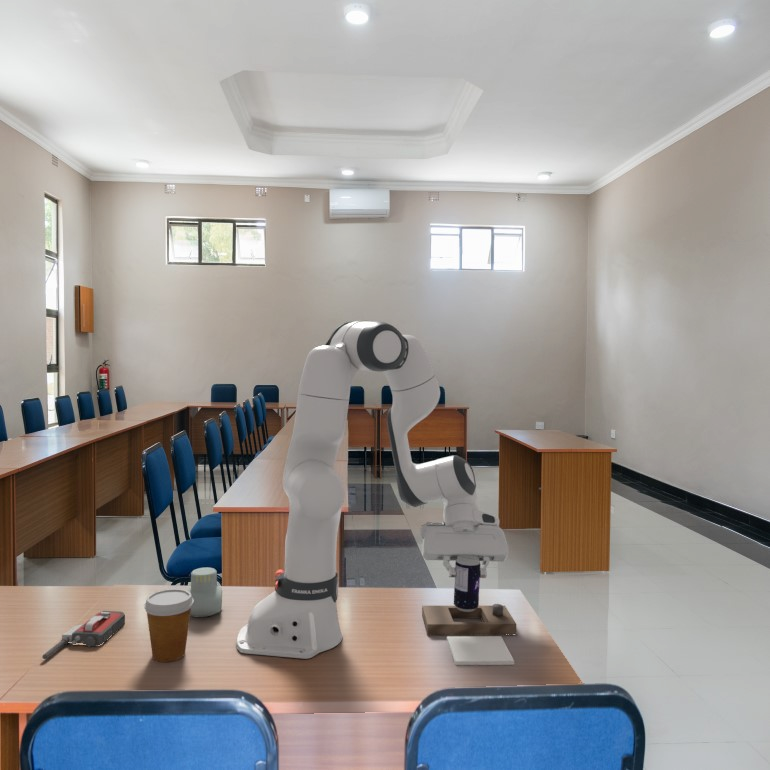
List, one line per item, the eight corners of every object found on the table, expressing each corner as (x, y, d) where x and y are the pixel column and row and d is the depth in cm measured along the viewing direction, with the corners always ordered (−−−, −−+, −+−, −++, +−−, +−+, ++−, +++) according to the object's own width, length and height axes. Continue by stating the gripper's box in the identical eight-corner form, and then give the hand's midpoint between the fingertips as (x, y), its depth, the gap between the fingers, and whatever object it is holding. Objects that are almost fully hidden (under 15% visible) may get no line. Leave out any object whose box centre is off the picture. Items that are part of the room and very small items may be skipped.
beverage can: (477, 614, 139) (480, 561, 138) (452, 611, 140) (454, 559, 139) (478, 605, 144) (481, 554, 144) (454, 602, 145) (456, 552, 145)
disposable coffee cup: (189, 664, 121) (190, 604, 121) (138, 667, 120) (139, 607, 119) (196, 642, 131) (196, 587, 130) (149, 645, 129) (149, 589, 129)
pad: (455, 665, 123) (455, 661, 123) (446, 640, 134) (446, 636, 134) (514, 664, 124) (514, 660, 124) (500, 639, 135) (501, 636, 135)
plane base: (427, 635, 136) (427, 615, 136) (422, 615, 147) (422, 597, 147) (516, 635, 138) (516, 615, 137) (504, 615, 148) (505, 597, 148)
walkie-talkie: (92, 621, 141) (38, 664, 121) (92, 602, 141) (38, 642, 121) (129, 622, 141) (81, 666, 121) (129, 604, 140) (81, 644, 121)
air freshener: (220, 620, 142) (221, 578, 142) (183, 623, 140) (183, 580, 140) (222, 602, 153) (222, 562, 152) (187, 604, 151) (187, 564, 150)
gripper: (421, 515, 147) (424, 569, 138) (505, 517, 149) (514, 571, 139) (418, 528, 152) (421, 581, 143) (500, 530, 153) (508, 583, 144)
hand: (467, 576), depth 141 cm, fingers closed on beverage can, 6 cm apart
